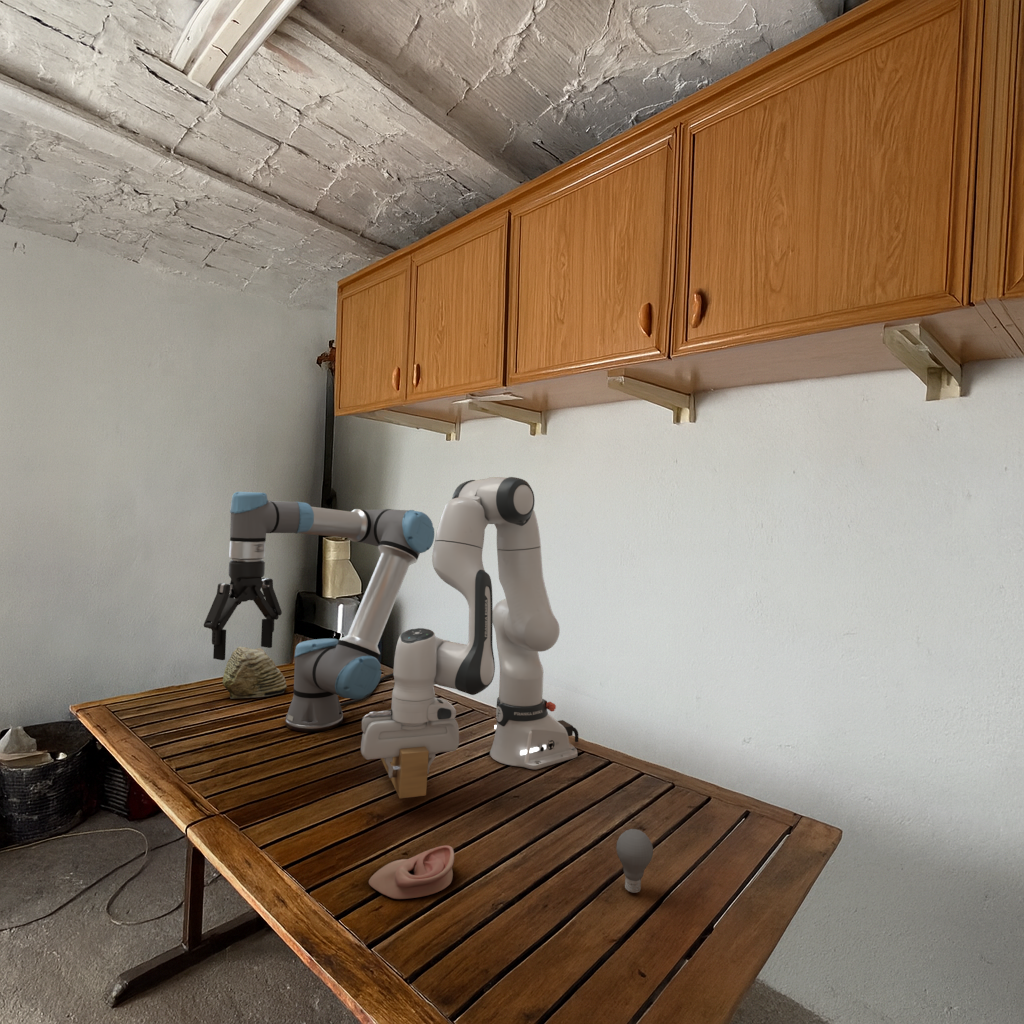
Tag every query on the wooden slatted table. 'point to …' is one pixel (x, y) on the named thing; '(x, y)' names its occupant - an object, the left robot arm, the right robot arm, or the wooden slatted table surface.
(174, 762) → the wooden slatted table surface
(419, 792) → the bar
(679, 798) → the wooden slatted table surface
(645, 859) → the light bulb
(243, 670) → the fossil
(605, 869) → the wooden slatted table surface
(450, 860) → the anatomical model
